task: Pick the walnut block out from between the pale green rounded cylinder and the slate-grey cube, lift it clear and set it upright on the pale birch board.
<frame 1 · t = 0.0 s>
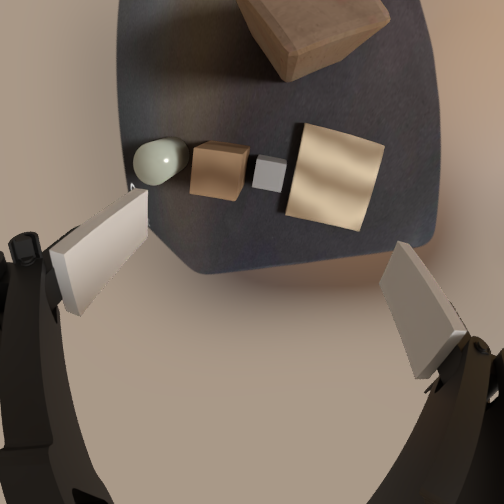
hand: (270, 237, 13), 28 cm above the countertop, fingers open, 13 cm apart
walnut block: (227, 162, 39), on the countertop
pale green rounded cylinder: (171, 155, 39), on the countertop
board: (333, 177, 38), on the countertop
block: (297, 43, 29), on the countertop
slate cube: (270, 169, 39), on the countertop
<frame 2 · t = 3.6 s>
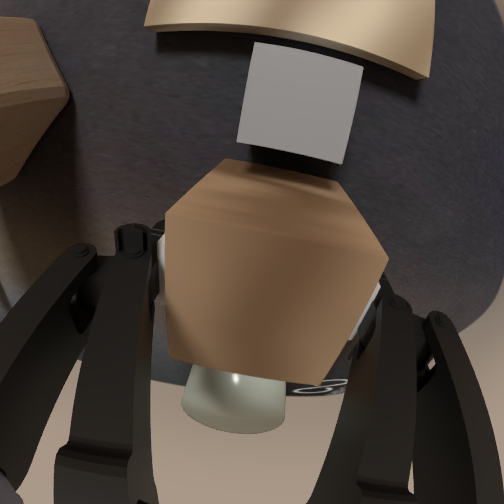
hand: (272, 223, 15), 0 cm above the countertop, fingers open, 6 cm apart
walnut block: (271, 220, 15), on the countertop, touching gripper
pale green rounded cylinder: (246, 332, 20), on the countertop
block: (22, 98, 12), on the countertop
slate cube: (295, 104, 12), on the countertop
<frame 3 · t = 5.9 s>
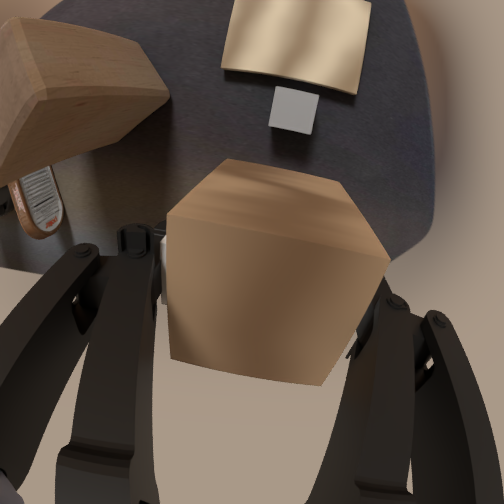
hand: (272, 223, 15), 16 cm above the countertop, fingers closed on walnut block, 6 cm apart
walnut block: (272, 220, 15), point 16 cm above the countertop, touching gripper
tin: (53, 180, 33), on the countertop
board: (298, 31, 21), on the countertop
block: (126, 91, 26), on the countertop
slate cube: (292, 110, 26), on the countertop
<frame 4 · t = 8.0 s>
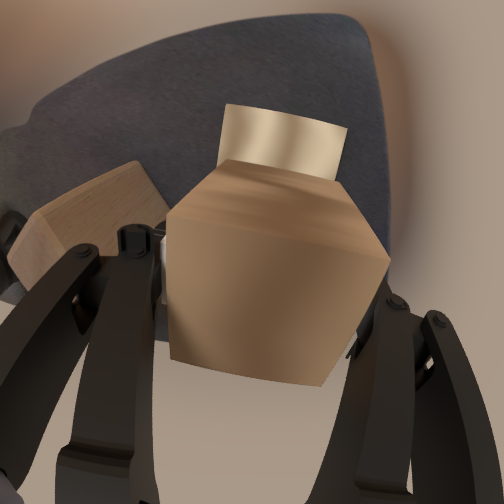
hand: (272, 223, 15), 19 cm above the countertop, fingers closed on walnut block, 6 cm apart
walnut block: (272, 221, 15), point 19 cm above the countertop, touching gripper
board: (277, 160, 32), on the countertop
block: (134, 202, 36), on the countertop
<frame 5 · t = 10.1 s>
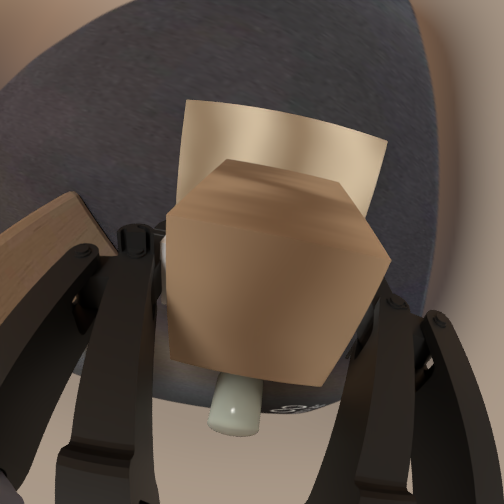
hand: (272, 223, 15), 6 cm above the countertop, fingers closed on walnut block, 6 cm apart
walnut block: (272, 221, 15), point 6 cm above the countertop, touching gripper
pale green rounded cylinder: (240, 381, 33), on the countertop
board: (273, 191, 20), on the countertop
block: (80, 245, 25), on the countertop
when the fingers open (3 cm above the countertop, at t = 11.6 s): walnut block drops 1 cm, resting on board.
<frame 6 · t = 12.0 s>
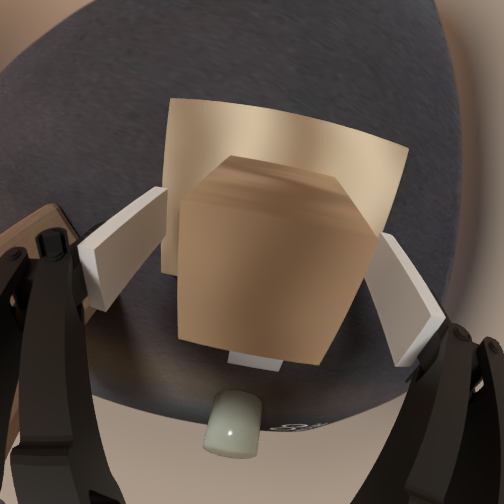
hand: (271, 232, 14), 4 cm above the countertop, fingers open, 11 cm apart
walnut block: (273, 213, 16), point 1 cm above the countertop, touching board
pale green rounded cylinder: (238, 402, 30), on the countertop
board: (274, 205, 17), on the countertop
block: (64, 260, 22), on the countertop
slate cube: (262, 315, 22), on the countertop
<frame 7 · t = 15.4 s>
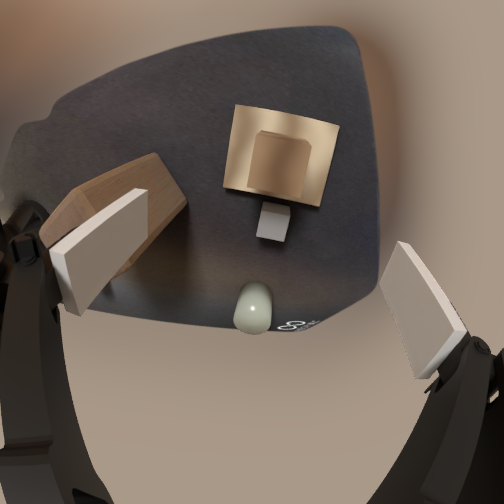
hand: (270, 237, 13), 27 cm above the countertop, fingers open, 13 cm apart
walnut block: (279, 155, 35), point 1 cm above the countertop, touching board
pale green rounded cylinder: (256, 295, 49), on the countertop
board: (279, 153, 36), on the countertop
block: (151, 190, 41), on the countertop
slate cube: (273, 215, 41), on the countertop
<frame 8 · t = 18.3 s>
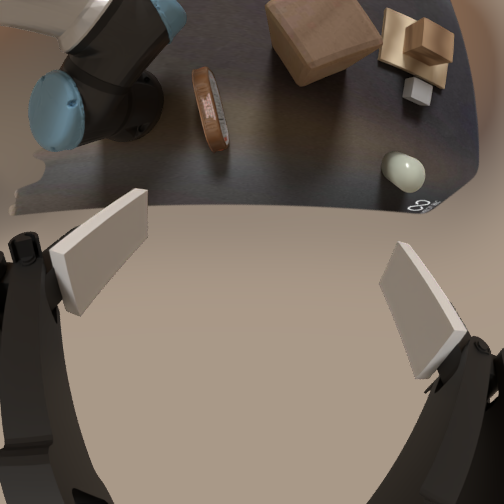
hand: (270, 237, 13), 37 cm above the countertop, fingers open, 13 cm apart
walnut block: (418, 46, 30), point 1 cm above the countertop, touching board
pale green rounded cylinder: (395, 166, 44), on the countertop
tin: (217, 108, 43), on the countertop
board: (414, 48, 31), on the countertop
block: (309, 54, 36), on the countertop
slate cube: (412, 91, 36), on the countertop
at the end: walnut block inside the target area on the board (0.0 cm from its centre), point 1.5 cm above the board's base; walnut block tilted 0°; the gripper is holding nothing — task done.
